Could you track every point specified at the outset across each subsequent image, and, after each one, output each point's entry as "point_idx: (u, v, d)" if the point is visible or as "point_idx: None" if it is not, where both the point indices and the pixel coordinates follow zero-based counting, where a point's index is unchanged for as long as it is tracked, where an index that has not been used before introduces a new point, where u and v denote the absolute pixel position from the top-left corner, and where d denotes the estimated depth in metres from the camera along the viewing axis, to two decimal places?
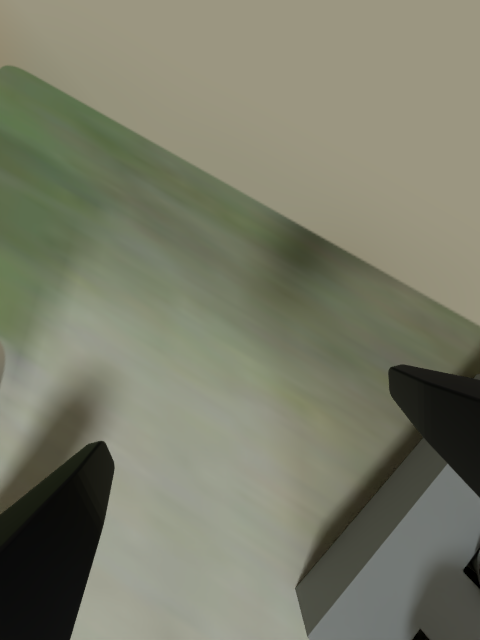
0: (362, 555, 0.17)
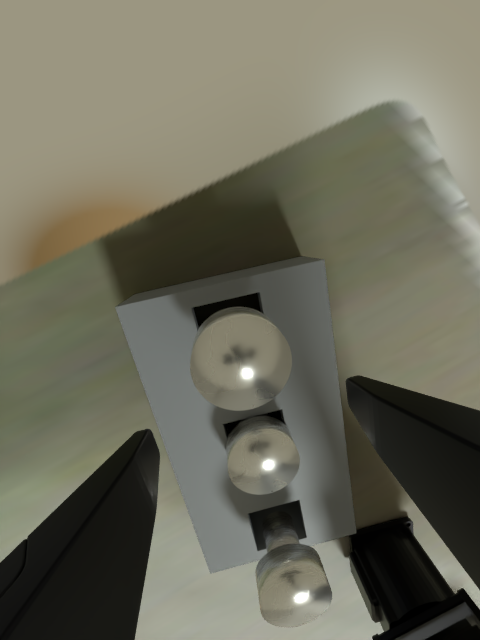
0: None
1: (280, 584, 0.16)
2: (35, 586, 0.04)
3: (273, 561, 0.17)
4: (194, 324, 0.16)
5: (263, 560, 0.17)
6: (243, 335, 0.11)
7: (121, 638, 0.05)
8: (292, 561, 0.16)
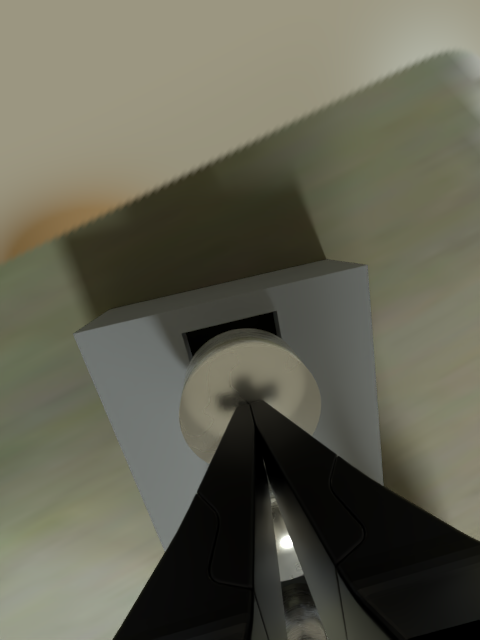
0: None
1: None
2: (247, 528, 0.04)
3: None
4: (186, 355, 0.11)
5: None
6: (254, 373, 0.08)
7: (278, 593, 0.05)
8: None
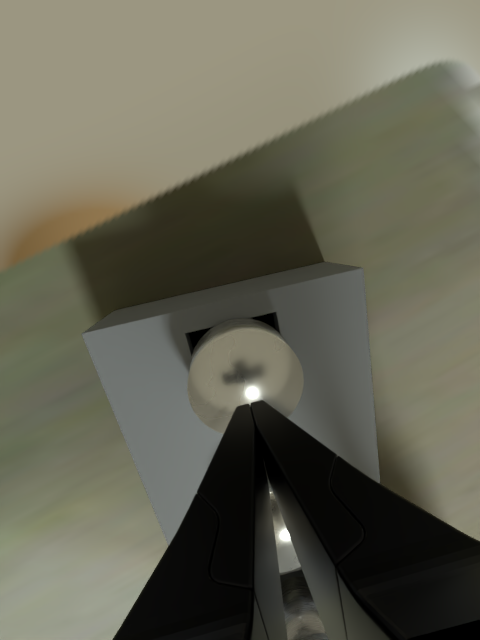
0: None
1: None
2: (247, 528, 0.04)
3: None
4: (189, 354, 0.12)
5: None
6: (248, 353, 0.10)
7: (279, 593, 0.05)
8: None
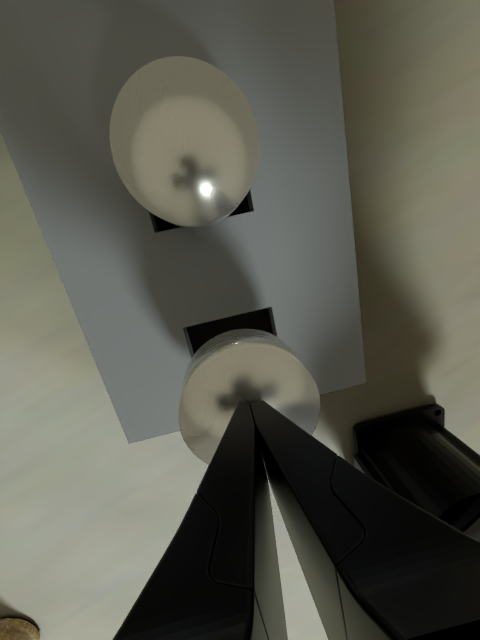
0: None
1: (215, 364, 0.08)
2: (247, 528, 0.04)
3: (209, 346, 0.09)
4: None
5: (194, 356, 0.09)
6: None
7: (279, 593, 0.05)
8: (244, 338, 0.08)
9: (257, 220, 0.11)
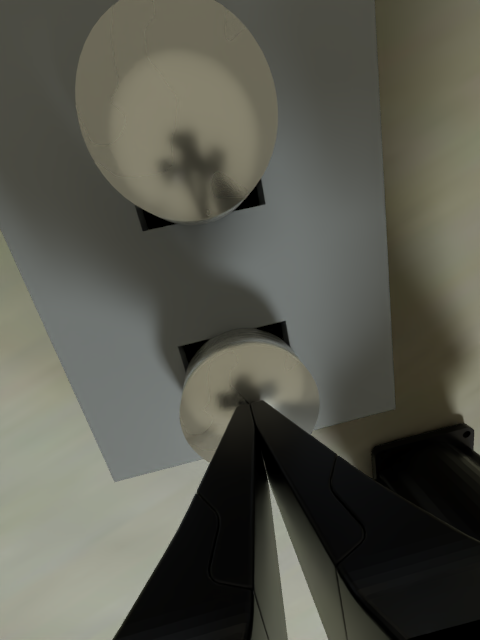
0: None
1: (216, 363, 0.08)
2: (247, 528, 0.04)
3: (210, 346, 0.09)
4: None
5: (195, 355, 0.09)
6: None
7: (279, 593, 0.05)
8: (245, 337, 0.09)
9: (270, 216, 0.09)
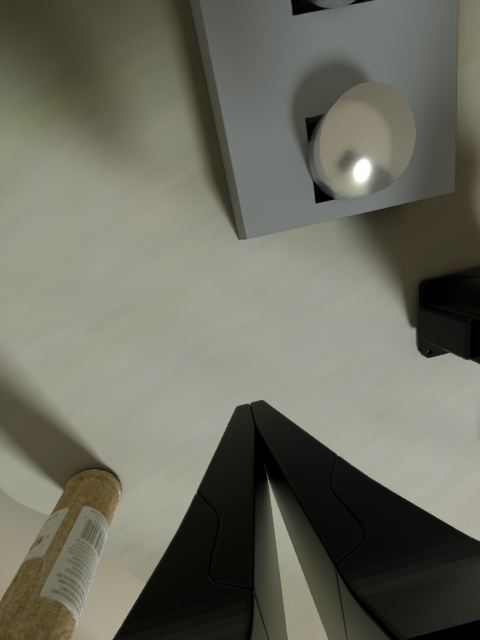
0: (224, 135, 0.14)
1: (351, 93, 0.12)
2: (247, 528, 0.04)
3: None
4: None
5: (320, 119, 0.13)
6: None
7: (278, 593, 0.05)
8: None
9: (378, 10, 0.12)
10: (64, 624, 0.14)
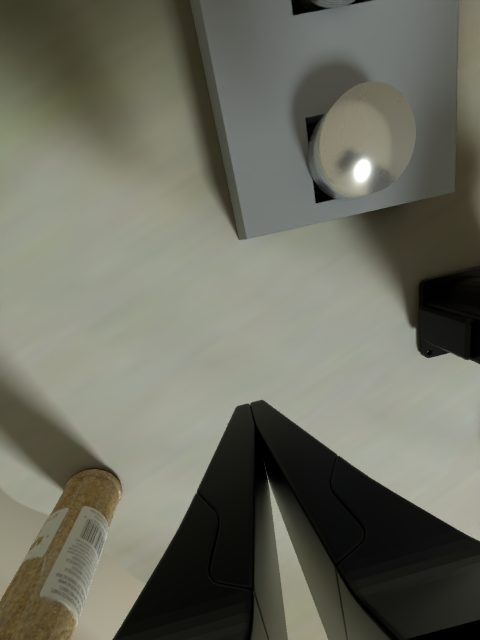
0: (224, 135, 0.14)
1: (351, 93, 0.12)
2: (247, 528, 0.04)
3: None
4: None
5: (320, 119, 0.13)
6: None
7: (278, 593, 0.05)
8: None
9: (379, 9, 0.12)
10: (64, 624, 0.14)
